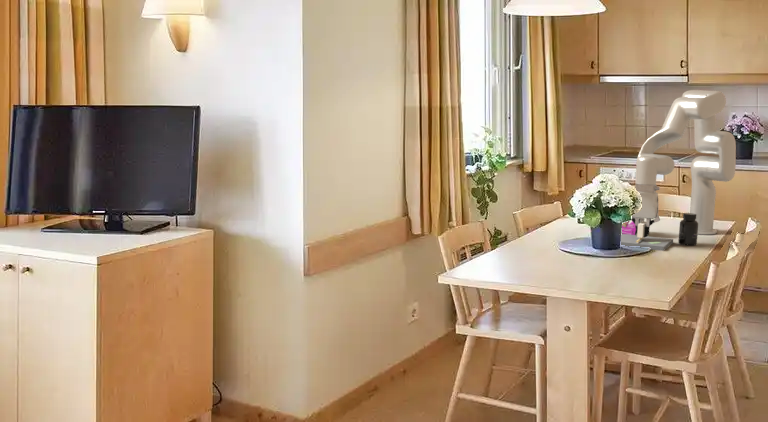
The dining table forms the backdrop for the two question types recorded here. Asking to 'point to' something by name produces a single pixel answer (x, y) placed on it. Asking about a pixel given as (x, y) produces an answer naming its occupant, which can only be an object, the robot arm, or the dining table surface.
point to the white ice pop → (641, 231)
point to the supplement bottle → (688, 230)
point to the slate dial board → (646, 242)
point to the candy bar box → (630, 227)
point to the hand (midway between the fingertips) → (642, 235)
